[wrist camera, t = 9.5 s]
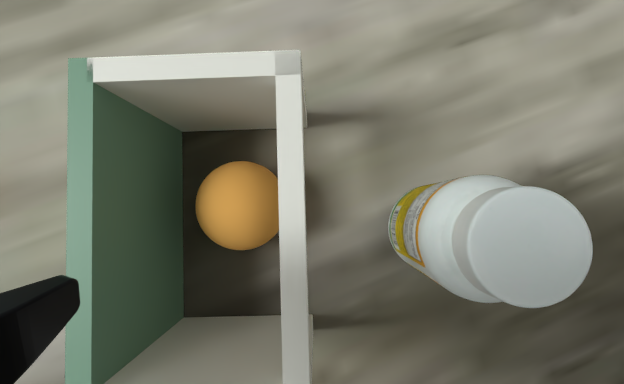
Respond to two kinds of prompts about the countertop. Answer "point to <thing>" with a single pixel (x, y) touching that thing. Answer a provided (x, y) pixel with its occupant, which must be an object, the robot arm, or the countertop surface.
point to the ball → (239, 205)
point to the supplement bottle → (493, 240)
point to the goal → (175, 219)
